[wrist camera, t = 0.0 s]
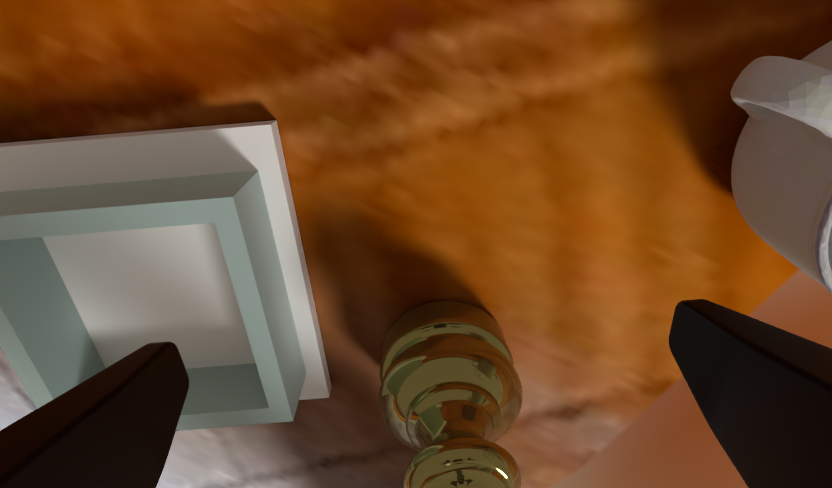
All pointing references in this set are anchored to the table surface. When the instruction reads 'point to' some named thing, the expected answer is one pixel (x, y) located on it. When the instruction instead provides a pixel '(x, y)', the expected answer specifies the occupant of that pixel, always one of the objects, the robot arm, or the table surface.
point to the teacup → (788, 157)
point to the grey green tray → (160, 267)
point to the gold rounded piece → (451, 396)
